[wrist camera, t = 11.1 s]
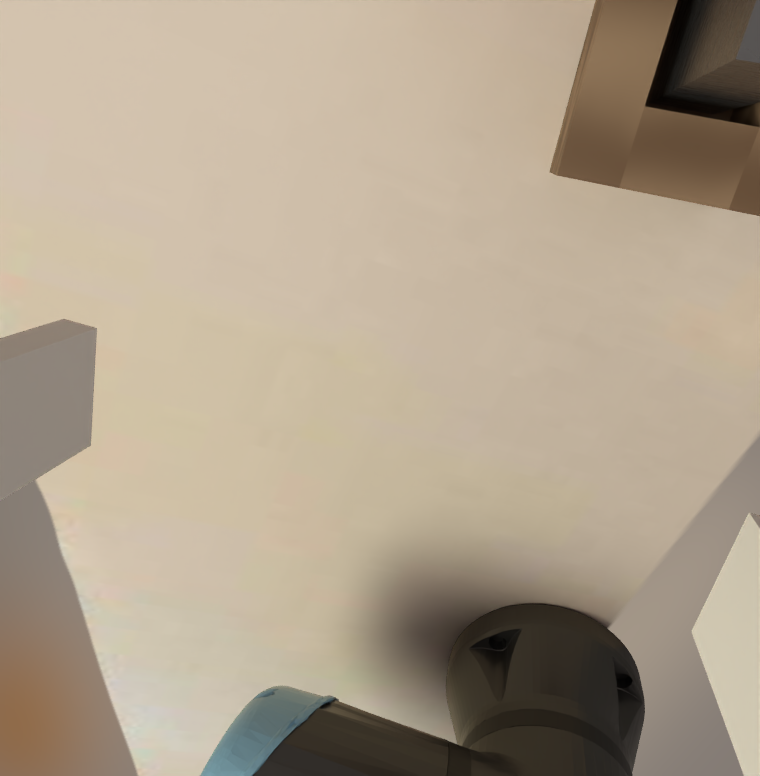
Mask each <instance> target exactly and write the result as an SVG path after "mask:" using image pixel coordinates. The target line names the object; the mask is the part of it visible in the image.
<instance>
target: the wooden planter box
mask: <svg viewBox="0 0 760 776" xmlns="http://www.w3.org/2000/svg"><path fill="white" fill-rule="evenodd" d="M680 3H681V0H596V2H595V5H594V9H593V13H592V17H591V20H590V24H589V28H588V31H587V35H586V39H585V42H584V46H583V50H582V54H581V57H580V61H579V65H578V68H577V72H576V76H575V80H574V83H573V87H572V91H571V94H570V98H569V102H568V106H567V109H566V113H565V117H564V120H563V124H562V128H561V131H560V135H559V139H558V143H557V146H556V150H555V154H554V157H553V161H552V165H551V169H550V172H551V173H553V174H555V175H558V176H563V177H568V178H573V179H578V180H583V181H588V182H593V183H598V184H603V185H608V186H613V187H618V188H623V189H628V190H633V191H638V192H643V193H648V194H653V195H658V196H663V197H668V198H673V199H678V200H683V201H688V202H693V203H697V204H702V205H707V206H712V207H717V208H722V209H727V210H732V211H737V212H742V213H747V214H752V215H757V216H760V102H759V103H755V104H751V105H747V106H743V107H740V108H736V109H732V110H728V111H725V112H721V113H717V114H707V113H702V112H696V111H691V110H685V109H680V108H674V107H668V106H663V105H657V104H652V103H649V101H650V98H651V95H652V92H653V89H654V86H655V82H656V79H657V76H658V73H659V70H660V66H661V63H662V60H663V57H664V54H665V50H666V47H667V44H668V41H669V38H670V34H671V31H672V28H673V25H674V22H675V19H676V15H677V12H678V9H679V6H680Z"/></svg>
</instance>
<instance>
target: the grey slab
mask: <svg viewBox="0 0 760 776" xmlns="http://www.w3.org/2000/svg"><path fill="white" fill-rule="evenodd" d="M759 102H760V0H681V3H680V6H679V9H678V12H677V15H676V19H675V22H674V25H673V28H672V31H671V34H670V38H669V41H668V44H667V47H666V50H665V54H664V57H663V60H662V63H661V66H660V70H659V73H658V76H657V79H656V82H655V86H654V89H653V92H652V95H651V98H650V101H649V103H652V104H657V105H663V106H668V107H674V108H680V109H685V110H691V111H696V112H702V113H707V114H717V113H721V112H725V111H728V110H732V109H736V108H740V107H743V106H747V105H751V104H755V103H759Z"/></svg>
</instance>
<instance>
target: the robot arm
mask: <svg viewBox="0 0 760 776" xmlns="http://www.w3.org/2000/svg"><path fill="white" fill-rule="evenodd" d="M96 334H97V328H94V327H91V326H87V325H84V324H80V323H77V322H73V321H69V320H66V319H62V320H59V321H56V322H52V323H49V324H46V325H43V326H39V327H36V328H33V329H29V330H26V331H23V332H20V333H16V334H13V335H10V336H6V337H3V338H0V501H1V500H3V499H4V498H6V497H7V496H9V495H11V494H12V493H14V492H15V491H17V490H19V489H20V488H22V487H24V486H25V485H27V484H29V483H30V482H32V481H34V480H35V479H37V478H38V477H40V476H42V475H43V474H45V473H47V472H48V471H50V470H51V469H53V468H55V467H56V466H58V465H60V464H61V463H63V462H64V461H66V460H68V459H69V458H71V457H73V456H74V455H76V454H77V453H79V452H81V451H82V450H84V449H86V448H87V447H89V446H90V445H91V431H92V412H93V392H94V373H95V353H96ZM691 632H692V635H693V638H694V640H695V643H696V646H697V649H698V651H699V654H700V657H701V660H702V662H703V665H704V668H705V670H706V673H707V676H708V679H709V681H710V684H711V686H712V690H713V692H714V695H715V697H716V701H717V703H718V706H719V709H720V712H721V714H722V717H723V719H724V722H725V725H726V728H727V731H728V733H729V736H730V739H731V742H732V744H733V747H734V750H735V752H736V755H737V758H738V761H739V763H740V766H741V769H742V772H743V774H744V776H760V515H756V514H753V513H749V514H748V516H747V518H746V520H745V522H744V524H743V526H742V528H741V531H740V533H739V534H738V537H737V539H736V541H735V543H734V545H733V547H732V549H731V551H730V553H729V555H728V557H727V559H726V561H725V563H724V565H723V567H722V569H721V572H720V574H719V576H718V578H717V580H716V582H715V584H714V586H713V588H712V590H711V593H710V594H709V596H708V599H707V600H706V602H705V605H704V607H703V609H702V611H701V613H700V615H699V617H698V619H697V621H696V623H695V625H694V627H693V629H692V631H691ZM446 696H447V703H448V707H449V711H450V715H451V719H452V723H453V727H454V731H455V735H456V739H457V744H458V745H457V744H454V743H452V742H449V741H447V740H445V739H442V738H439V737H436V736H433V735H430V734H428V733H425V732H422V731H419V730H416V729H413V728H411V727H408V726H405V725H402V724H399V723H396V722H393V721H391V720H388V719H385V718H382V717H379V716H376V715H374V714H371V713H368V712H366V711H363V710H360V709H358V708H355V707H352V706H350V705H347V704H344V703H342V702H339V700H338V699H337V698H336V697H333V696H325V697H323V696H320V695H316V694H312V693H309V692H305V691H301V690H298V689H295V688H292V687H288V686H275V687H271V688H269V689H266V690H265V691H263V692H261V693H260V694H258V695H257V696H256V697H255V698H254V699H253V700H252V701H251V702H249V703H248V704H247V705H246V706H245V708H244V709H243V710H242V711H241V712H240V714H239V715H238V716H237V718H236V719H235V720H234V721H233V723H232V724H231V726H230V727H229V729H228V730H227V731H226V733H225V735H224V736H223V738H222V739H221V741H220V742H219V744H218V745H217V747H216V749H215V750H214V752H213V754H212V756H211V757H210V759H209V761H208V762H207V764H206V766H205V768H204V770H203V772H202V773H201V775H200V776H632V771H633V766H634V762H635V757H636V753H637V749H638V744H639V740H640V735H641V731H642V726H643V721H644V713H645V707H644V706H645V705H644V696H643V691H642V686H641V681H640V676H639V672H638V669H637V666H636V664H635V661H634V660H633V658H632V656H631V654H630V653H629V651H628V649H627V648H626V647H625V646H624V644H623V643H622V642H621V641H620V640H619V639H618V638H617V637H616V636H615V635H614V634H613V633H612V632H611V631H609V630H608V629H607V628H605V627H604V626H603V625H601V624H600V623H598V622H596V621H595V620H593V619H591V618H589V617H587V616H585V615H583V614H580V613H578V612H575V611H572V610H569V609H565V608H561V607H556V606H550V605H541V604H523V605H515V606H509V607H505V608H501V609H498V610H495V611H493V612H490V613H488V614H486V615H484V616H482V617H480V618H479V619H477V620H476V621H474V622H473V623H472V624H471V625H469V626H468V627H467V628H466V629H465V630H464V631H463V632H462V634H461V635H460V636H459V638H458V639H457V641H456V643H455V644H454V647H453V649H452V652H451V655H450V659H449V665H448V672H447V678H446Z"/></svg>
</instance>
